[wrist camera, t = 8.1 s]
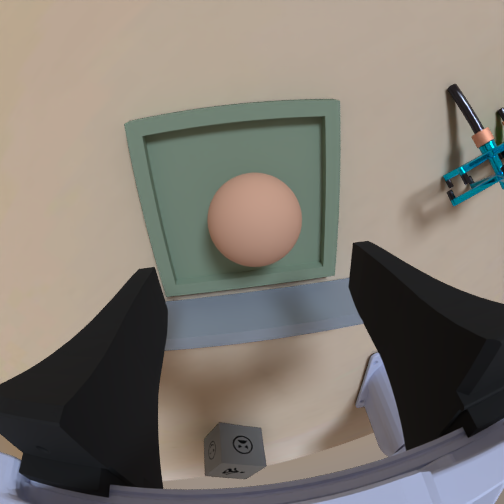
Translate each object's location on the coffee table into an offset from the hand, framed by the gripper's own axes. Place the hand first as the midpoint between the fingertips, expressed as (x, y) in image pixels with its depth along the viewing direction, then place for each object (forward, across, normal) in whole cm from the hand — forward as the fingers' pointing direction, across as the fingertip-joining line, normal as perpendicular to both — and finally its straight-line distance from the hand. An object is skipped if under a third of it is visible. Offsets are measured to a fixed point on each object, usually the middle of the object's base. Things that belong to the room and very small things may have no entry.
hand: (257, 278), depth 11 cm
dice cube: (+8, +4, +27) cm, 29 cm away
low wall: (+7, 0, +7) cm, 10 cm away
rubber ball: (+5, 0, 0) cm, 5 cm away
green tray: (+7, 0, 0) cm, 7 cm away
